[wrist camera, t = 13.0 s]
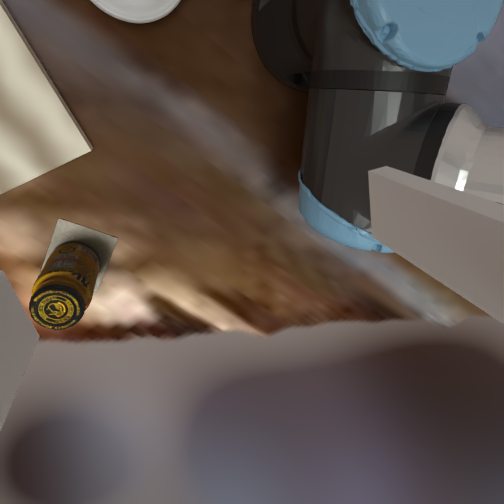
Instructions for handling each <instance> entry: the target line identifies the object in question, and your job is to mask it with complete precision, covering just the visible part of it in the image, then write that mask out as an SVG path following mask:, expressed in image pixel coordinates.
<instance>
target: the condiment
mask: <svg viewBox="0 0 504 504" xmlns="http://www.w3.org/2000/svg"><path fill="white" fill-rule="evenodd" d="M72 237H73V239H71V238H72ZM69 239H70V240H69ZM117 239H118V238H115V237H112V236H110V235H107V234H104V233H101V232H98V231H95V230H92V229H89V228H86V227H84V226H80V225H77V224H74V223H71V222H68V221H65V220H62V219H58V222H57V225H56V228H55V231H54V234H53V237H52V240H51V243H50V246H49V249H48V252H47V255H46V257H45V260H44V263H43V266H42V269H41V272H40V275H39V276H38V278H37V280H36V282H35V283H34V286H33V289H32V297H31V301H30V303H29V310H30V313H31V317H32V318H33V320H34V321H35V322H37V323H38V324H39V325H41V326H43V327H45V328H49V329H54V330H58V329H66V328H69V327H72V326H74V325H75V324H76V323H77V322H78V321H79V320H80V319H81V318H82V316H83V315H84V311H85V310H86V309H87V308H88V306H89V304H90V302H91V300H92V296H93V292H97V290H98V288H99V285H100V283H101V280H102V278H103V275H104V272H105V270H106V267H107V265H108V262H109V260H110V257H111V255H112V252H113V250H114V247H115V245H116V242H117Z"/></svg>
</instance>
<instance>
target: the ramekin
mask: <svg viewBox="0 0 504 504" xmlns="http://www.w3.org/2000/svg"><path fill="white" fill-rule="evenodd" d="M91 1H92V2H93V3H94V4H95V5H96V6H97V7H98V8H100V9H101V10H102V11H104V12H105V13H107V14H109V15H110V16H112V17H114V18H117V19H119V20H122V21H126V22H130V23H149V22H153V21H156V20H159V19H161V18H163V17H165V16H166V15H168V14H169V13H170V12H171V11H172V10H173V9H174V8H175V7H176V6H177V5H178V3H179V2H180V0H91Z"/></svg>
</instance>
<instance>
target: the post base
mask: <svg viewBox="0 0 504 504" xmlns="http://www.w3.org/2000/svg"><path fill="white" fill-rule="evenodd" d="M92 149H93V147H92V145H91V143H90V142H89V140H88V139H87V137H86V135H85V134H84V132H83V130H82V129H81V127H80V126H79V124H78V122H77V121H76V119H75V118H74V116H73V114H72V113H71V111H70V109H69V108H68V106H67V105H66V103H65V101H64V100H63V98H62V96H61V95H60V93H59V92H58V90H57V88H56V87H55V85H54V84H53V82H52V80H51V79H50V77H49V75H48V74H47V72H46V71H45V69H44V67H43V66H42V64H41V63H40V61H39V59H38V58H37V56H36V54H35V53H34V51H33V50H32V48H31V46H30V45H29V43H28V41H27V40H26V38H25V37H24V35H23V33H22V32H21V30H20V29H19V27H18V25H17V24H16V22H15V20H14V19H13V17H12V16H11V14H10V12H9V11H8V9H7V7H6V6H5V4H4V3H3V1H2V0H0V194H3V193H5V192H7V191H9V190H11V189H13V188H15V187H17V186H19V185H21V184H23V183H25V182H27V181H29V180H32V179H34V178H36V177H38V176H40V175H42V174H44V173H46V172H48V171H50V170H52V169H54V168H56V167H59V166H61V165H63V164H65V163H67V162H69V161H71V160H73V159H75V158H77V157H79V156H81V155H83V154H86V153H88V152H90V151H91V150H92Z"/></svg>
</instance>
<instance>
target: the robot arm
mask: <svg viewBox="0 0 504 504" xmlns="http://www.w3.org/2000/svg"><path fill="white" fill-rule="evenodd" d="M503 1H504V0H254V1H253V7H252V33H253V39H254V43H255V46H256V49H257V52H258V54H259V56H260V58H261V60H262V62H263V64H264V65H265V67H266V68H267V69H268V71H269V72H270V73H271V74H272V75H273V76H274V77H275V78H276V79H277V80H279V81H280V82H281V83H283V84H285V85H286V86H288V87H291V88H293V89H297V90H301V91H309V95H308V104H307V114H306V123H305V133H304V142H303V152H302V161H301V168H300V169H299V174H298V179H299V183H300V191H299V209H300V213H301V214H302V216H303V217H304V219H305V221H306V223H307V224H308V225H309V226H310V227H311V228H313V229H314V230H315V231H317V232H318V233H320V234H321V235H323V236H325V237H327V238H329V239H331V240H333V241H335V242H337V243H340V244H343V245H346V246H349V247H352V248H355V249H360V250H364V251H370V250H371V249H373V250H376V251H378V252H380V253H393V252H396V253H397V254H399V255H400V256H402V257H403V258H405V259H406V260H408V261H409V262H411V263H412V264H414V265H415V266H417V267H418V268H420V269H421V270H423V271H424V272H426V273H427V274H429V275H430V276H432V277H433V278H435V279H436V280H438V281H439V282H441V283H442V284H444V285H445V286H447V287H448V288H450V289H452V290H453V291H455V292H456V293H458V294H459V295H461V296H462V297H464V298H465V299H467V300H468V301H470V302H471V303H473V304H474V305H476V306H477V307H479V308H480V309H482V310H483V311H485V312H486V313H488V314H489V315H491V316H492V317H494V318H495V319H497V320H498V321H500V322H501V323H503V324H504V128H500V127H490V126H488V125H485V124H483V123H482V121H481V120H480V119H479V117H478V116H477V115H476V113H475V112H474V111H473V109H472V108H471V107H470V105H468V104H457V103H445V95H446V92H447V88H448V83H449V79H450V75H451V71H452V67H453V65H456V64H457V63H458V62H460V61H462V60H464V59H465V58H467V57H468V56H470V55H471V54H472V53H473V52H474V51H475V50H476V48H477V44H478V43H479V42H481V41H483V40H485V39H486V38H487V36H488V35H489V33H490V32H491V30H492V29H493V27H494V25H495V23H496V20H497V18H498V16H499V13H500V11H501V8H502V5H503ZM39 337H40V336H39V335H38V333H37V331H36V329H35V327H34V326H33V324H32V322H31V320H30V318H29V317H28V315H27V313H26V311H25V309H24V308H23V306H22V304H21V302H20V300H19V299H18V297H17V295H16V293H15V291H14V290H13V288H12V286H11V284H10V282H9V281H8V279H7V277H6V275H5V273H4V271H3V270H2V271H0V431H1V428H2V426H3V423H4V421H5V419H6V416H7V414H8V412H9V409H10V407H11V404H12V402H13V400H14V397H15V395H16V392H17V390H18V387H19V385H20V382H21V380H22V377H23V375H24V373H25V371H26V368H27V366H28V363H29V361H30V359H31V356H32V354H33V351H34V349H35V346H36V344H37V342H38V339H39Z"/></svg>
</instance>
